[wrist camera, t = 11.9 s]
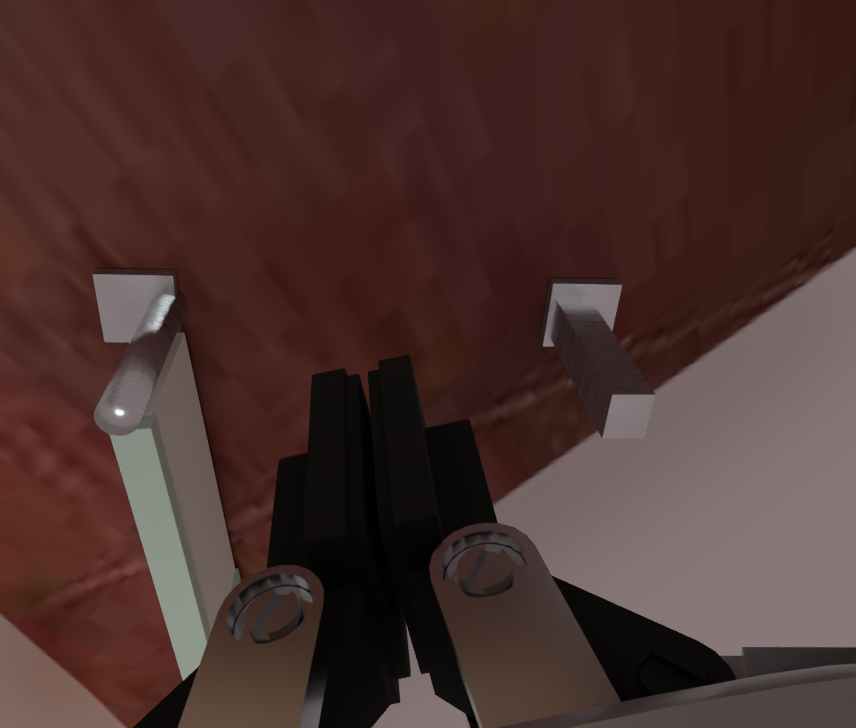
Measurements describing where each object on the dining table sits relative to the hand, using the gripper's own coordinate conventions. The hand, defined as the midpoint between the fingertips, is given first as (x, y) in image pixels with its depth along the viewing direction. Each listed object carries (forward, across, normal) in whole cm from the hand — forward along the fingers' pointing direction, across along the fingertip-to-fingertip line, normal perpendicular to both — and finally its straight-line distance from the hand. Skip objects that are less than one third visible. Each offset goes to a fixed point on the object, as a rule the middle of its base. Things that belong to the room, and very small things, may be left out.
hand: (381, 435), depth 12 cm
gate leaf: (+26, +14, +19) cm, 35 cm away
